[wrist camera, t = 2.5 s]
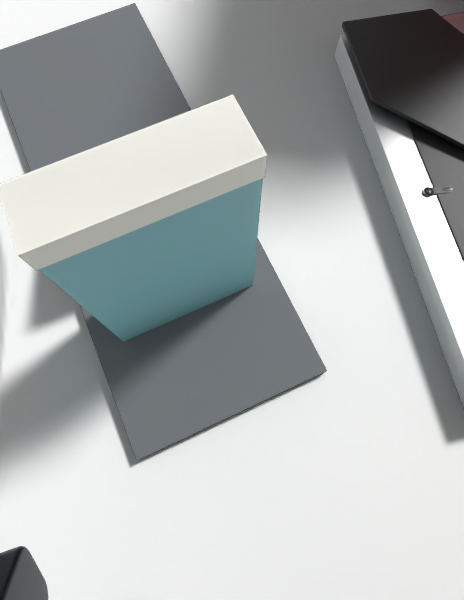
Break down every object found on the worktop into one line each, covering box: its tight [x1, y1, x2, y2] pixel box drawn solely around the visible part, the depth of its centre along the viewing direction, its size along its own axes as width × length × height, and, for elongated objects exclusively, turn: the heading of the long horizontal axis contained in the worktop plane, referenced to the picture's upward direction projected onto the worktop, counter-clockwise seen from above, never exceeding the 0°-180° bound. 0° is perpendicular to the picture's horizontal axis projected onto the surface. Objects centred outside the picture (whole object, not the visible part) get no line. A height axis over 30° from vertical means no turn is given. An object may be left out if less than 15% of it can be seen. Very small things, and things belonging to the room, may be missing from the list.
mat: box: [0, 3, 327, 460], centre depth 23 cm, size 24×9×1 cm, turn 25°
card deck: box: [0, 95, 267, 342], centre depth 16 cm, size 2×7×10 cm, turn 115°
